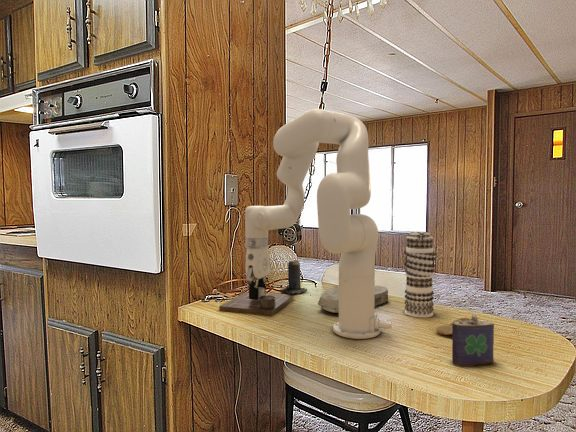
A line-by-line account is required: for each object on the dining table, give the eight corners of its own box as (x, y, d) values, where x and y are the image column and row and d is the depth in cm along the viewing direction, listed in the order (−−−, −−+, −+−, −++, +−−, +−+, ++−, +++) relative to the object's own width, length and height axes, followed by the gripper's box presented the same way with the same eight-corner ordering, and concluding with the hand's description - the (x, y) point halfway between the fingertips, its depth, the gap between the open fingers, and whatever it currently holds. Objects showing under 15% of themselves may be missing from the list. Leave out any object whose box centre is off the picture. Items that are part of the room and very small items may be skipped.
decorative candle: (419, 319, 120) (420, 234, 119) (396, 311, 129) (397, 231, 127) (441, 315, 125) (442, 232, 123) (418, 307, 133) (419, 230, 131)
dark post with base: (294, 296, 149) (293, 263, 148) (279, 292, 154) (278, 260, 153) (310, 291, 155) (310, 260, 154) (295, 288, 160) (295, 257, 160)
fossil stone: (339, 319, 122) (339, 301, 121) (305, 308, 133) (305, 292, 132) (395, 301, 140) (395, 286, 140) (361, 293, 151) (361, 279, 151)
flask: (489, 359, 92) (490, 312, 91) (497, 365, 89) (498, 316, 89) (449, 361, 91) (450, 314, 91) (456, 367, 88) (456, 318, 88)
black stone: (277, 305, 132) (277, 296, 131) (271, 309, 127) (271, 300, 127) (263, 303, 133) (263, 294, 133) (256, 308, 129) (256, 298, 128)
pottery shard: (480, 347, 102) (484, 327, 111) (479, 332, 101) (483, 312, 109) (435, 342, 108) (442, 322, 116) (433, 327, 107) (441, 308, 115)
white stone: (267, 296, 139) (267, 287, 139) (261, 300, 135) (261, 291, 134) (253, 295, 141) (253, 286, 141) (247, 298, 136) (247, 290, 136)
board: (293, 299, 144) (293, 295, 144) (271, 316, 125) (271, 311, 125) (246, 295, 150) (246, 291, 150) (219, 310, 132) (219, 305, 132)
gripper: (256, 247, 127) (257, 305, 129) (277, 240, 143) (277, 291, 145) (234, 246, 130) (235, 302, 131) (257, 239, 146) (257, 290, 147)
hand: (257, 296), depth 138 cm, fingers closed on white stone, 5 cm apart
